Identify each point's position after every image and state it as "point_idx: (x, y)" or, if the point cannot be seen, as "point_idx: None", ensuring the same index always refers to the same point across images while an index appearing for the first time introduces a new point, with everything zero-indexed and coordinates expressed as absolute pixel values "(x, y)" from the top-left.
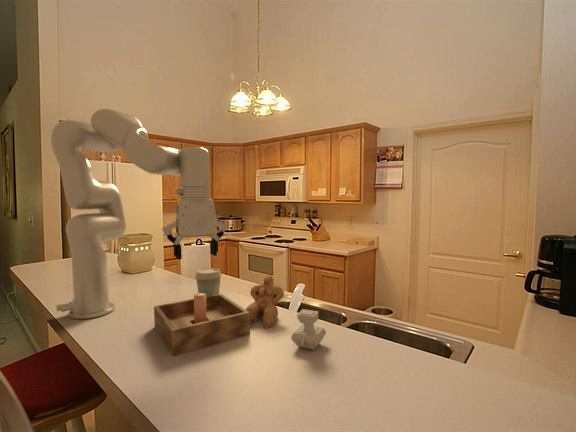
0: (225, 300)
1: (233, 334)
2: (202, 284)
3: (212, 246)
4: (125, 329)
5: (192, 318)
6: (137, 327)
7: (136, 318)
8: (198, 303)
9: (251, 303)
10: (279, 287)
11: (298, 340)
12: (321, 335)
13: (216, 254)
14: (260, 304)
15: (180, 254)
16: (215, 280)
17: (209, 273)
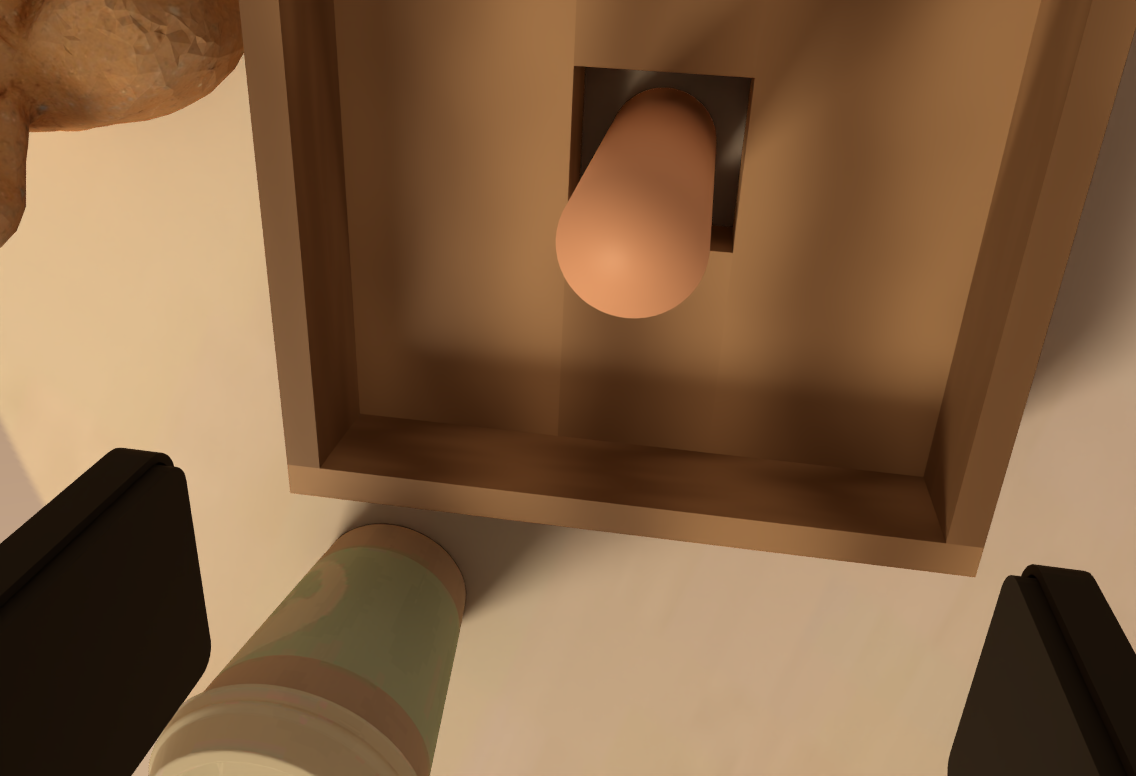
0: (310, 304)
1: None
2: (400, 703)
3: (71, 689)
4: (1129, 565)
5: None
6: (1041, 543)
7: (964, 701)
8: (683, 166)
9: (87, 94)
10: None
11: None
12: None
13: (115, 452)
14: (7, 4)
15: (1083, 644)
16: (258, 674)
17: (285, 757)
